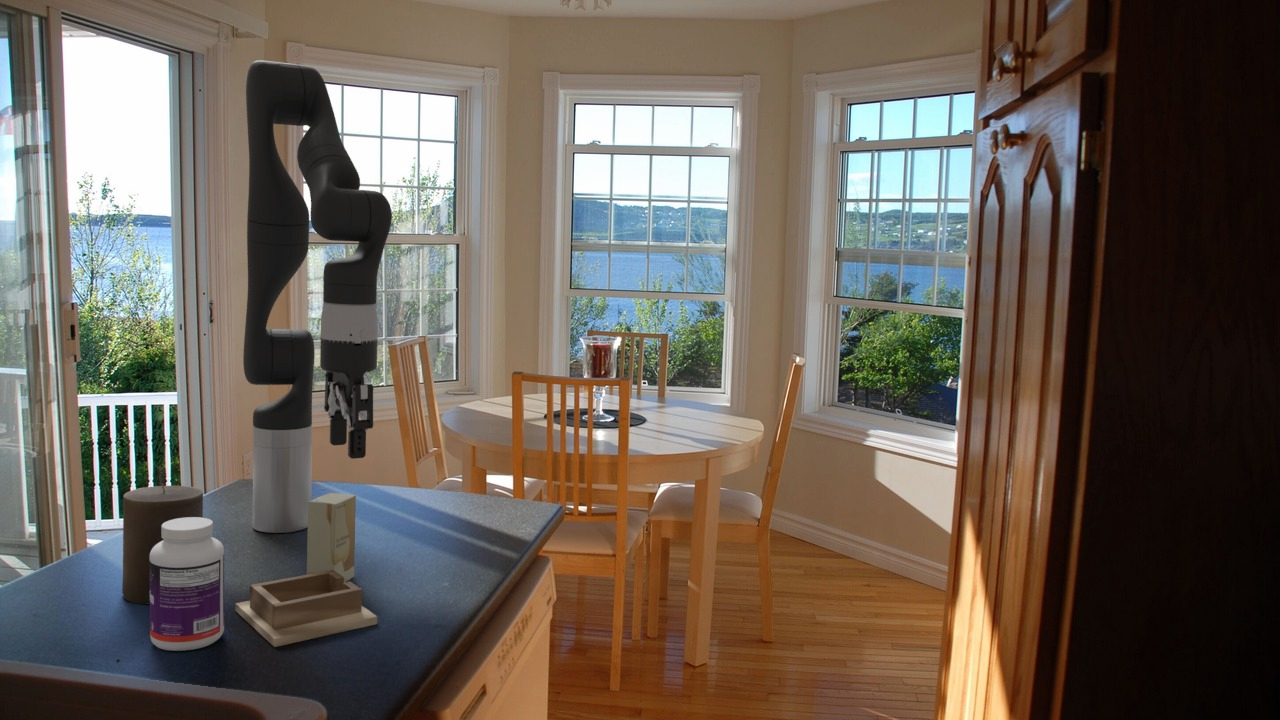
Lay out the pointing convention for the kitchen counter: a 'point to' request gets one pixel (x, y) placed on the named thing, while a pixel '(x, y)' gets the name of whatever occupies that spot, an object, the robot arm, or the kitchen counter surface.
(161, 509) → the pillar candle
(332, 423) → the robot arm
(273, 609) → the frame
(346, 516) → the skincare box
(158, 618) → the pill bottle
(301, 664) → the kitchen counter surface
